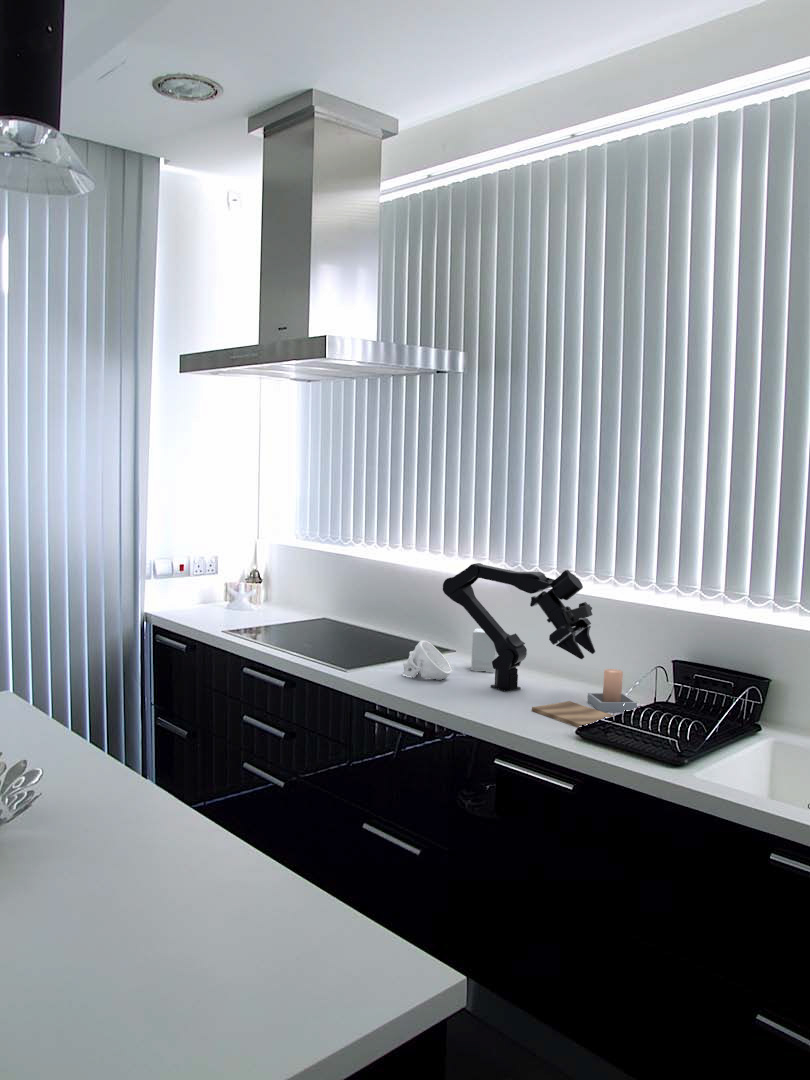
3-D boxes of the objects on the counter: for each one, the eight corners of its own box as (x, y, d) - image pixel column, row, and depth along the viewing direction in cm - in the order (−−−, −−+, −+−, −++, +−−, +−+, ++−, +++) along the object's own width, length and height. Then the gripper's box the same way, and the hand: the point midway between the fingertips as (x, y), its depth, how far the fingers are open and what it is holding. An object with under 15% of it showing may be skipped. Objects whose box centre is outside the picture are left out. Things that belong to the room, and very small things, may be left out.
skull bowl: (404, 666, 287) (425, 635, 284) (438, 695, 283) (460, 664, 279) (390, 672, 277) (411, 640, 274) (425, 702, 273) (447, 670, 270)
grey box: (599, 711, 247) (600, 702, 246) (587, 701, 257) (587, 693, 257) (636, 711, 248) (636, 702, 248) (622, 701, 258) (622, 693, 258)
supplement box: (494, 673, 288) (495, 633, 287) (470, 671, 289) (472, 631, 288) (496, 668, 295) (498, 629, 294) (473, 666, 297) (475, 627, 296)
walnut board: (531, 710, 245) (531, 707, 245) (569, 704, 253) (569, 701, 253) (580, 728, 230) (581, 724, 230) (619, 721, 238) (619, 717, 238)
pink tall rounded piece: (598, 705, 253) (600, 669, 252) (610, 703, 256) (612, 668, 255) (612, 710, 249) (614, 673, 248) (624, 707, 252) (626, 671, 251)
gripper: (564, 596, 248) (599, 644, 244) (587, 589, 264) (621, 634, 260) (534, 620, 253) (568, 667, 249) (558, 612, 269) (591, 656, 265)
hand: (588, 655), depth 255 cm, fingers open, 9 cm apart
